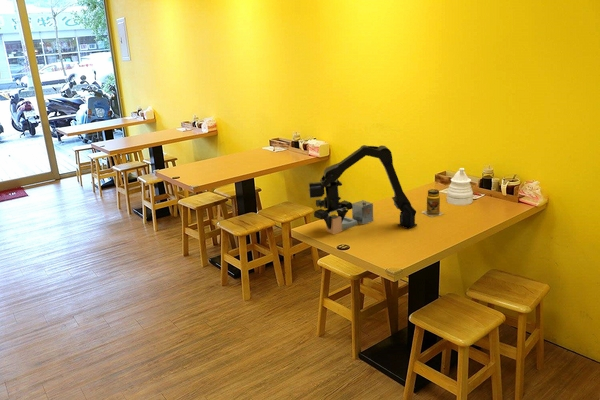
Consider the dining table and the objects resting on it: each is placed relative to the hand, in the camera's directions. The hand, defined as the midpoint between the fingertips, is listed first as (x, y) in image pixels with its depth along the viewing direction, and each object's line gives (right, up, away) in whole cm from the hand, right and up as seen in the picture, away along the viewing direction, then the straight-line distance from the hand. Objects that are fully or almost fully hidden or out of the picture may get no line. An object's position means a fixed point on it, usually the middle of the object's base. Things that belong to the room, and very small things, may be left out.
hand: (334, 227), depth 234 cm
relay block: (0, -2, 0) cm, 2 cm away
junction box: (+14, +2, +11) cm, 18 cm away
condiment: (+49, +6, +16) cm, 52 cm away
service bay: (+4, +1, +7) cm, 9 cm away
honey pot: (+67, +12, +31) cm, 75 cm away
